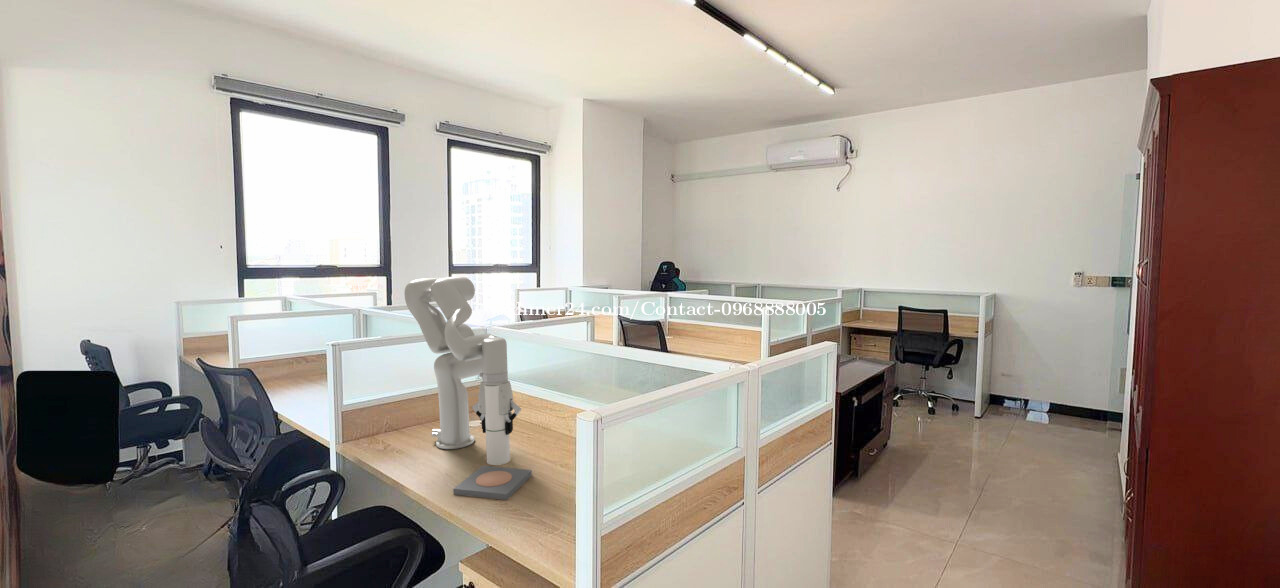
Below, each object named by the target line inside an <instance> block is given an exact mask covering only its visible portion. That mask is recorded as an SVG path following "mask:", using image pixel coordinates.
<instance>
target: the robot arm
mask: <svg viewBox="0 0 1280 588" xmlns="http://www.w3.org/2000/svg"><path fill="white" fill-rule="evenodd" d="M403 292H404V300H405V304H406V307H407V309H408V311H409V312H410V314H411V315H412V316H413V318H414V320H416V322H417V324H418V326H419V329H420V330H421V333H422V335H423V337H424V339H425V341H426V344H427V346H428V348H429V349H430V351H431V352H432V353H434V354H437V355H438V354H439V356H437V358H436V359H435V360H434V364H433V370H434V376H435V378H436V384H437V391H438V392H437V393H438V394H437V395H438V407H439V408H438V410H439V429H438V428H433V429H432V430H431V434H430V435H431V437H434V438H436V437H437V440H436V442H435V445H436V447H437V448H439V449H441V450H442V449H443V450H459V449H462V448H466V447H468V446H471V445H472V444H473V443H474V442H475V439H476V438H475V436H474V435H472V434H471V433H470V432H471V431H470V413H469V411H470V410H469V392H468V389H467V387H466V386H465V384H464V383H463V382H462V381H461V380H462V379H467V378H471V377H474V376H475V377H476V376H478V377H479V378H482V381H481V382H480V383H479V388H478V390H479V391H478V401H477V402H476V403H475V404H474V405H472V409H473V411H474V413H475V414H476V416H477V417H478V418H479V420H480V421H481V429H482V433H483V434H486V426H485V414H486V404H485V386H484V385H490V386H499V393H498V400H499V415H504V416H505V419H506V420H507V422H506V423H505V431H506V435H508V434H509V435H510V434H511V433H513V430H514V424H513V422H514V421H513V420H515V418H516V417H517V416H518V415H519V414H520V412H521V411H522V408H521V407H520V406H519V405H518V404H517V403H516V402H515V401H514V395H513V389H512V385H511V381H510V380H508V379H509V374H508V372H509V371H508V369H509V368H508V348H507V347H508V345H507V344H508V343H507V340H506V339H505V338H504V337H500V336H499V337H498V336H495V335H493V334H490V333H484V334H483V333H481V334H477V335H475V333H474V330H473V329H472V328H471V327H470V326H469V325H468V324H465V323H466V322H467V321H468V320H469V319H470V317H471V316H472V314H473V309H472V307H471V305H470V304H469V302H468V301H471V300H472V299H473V298H474V297H475V294H476V293H475V292H476V289H475V285H474V283H473V282H472V281H471V279H469V278H467V277H465V276H457V277H456V276H443V277H430V278H429V277H427V278H418V279H414V280H411V281H409V282H408V283H407V284H406V285H405V287H404V291H403ZM431 303H436V304H437V306H438V307H439V309H438V308H437V307H435V306H434V305H433V304H431ZM440 310H441V311H440ZM445 319H446V320H445ZM513 410H514V411H513ZM512 411H513V413H512Z"/></svg>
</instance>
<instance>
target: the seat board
mask: <svg viewBox="0 0 1280 588" xmlns="http://www.w3.org/2000/svg"><path fill="white" fill-rule="evenodd" d="M532 471H533V470H532V469H526V468H514V467H513V468H512V467H502V466H495V465H492V466H491V465H481V466H480V467H479V468H477V470H475V471H474V472H473V473H471V474H470V475H469V476H468V477H466V478H465V479H464V480H463V481H461V482H460V483H458V485H456V486H454V487H453V489H452V490H453V495H456V496H467V497H473V498H474V497H475V498H484V499H495V500H503V501H508V500H509V498H510V497H512V495H514V494H515V492H516V491H518V490H519V489H520V488H519V487H522V486H523V485H524V484H525V483H526V482H527V481H528V480H529V479H530V478H531V477H532V476H533V472H532Z"/></svg>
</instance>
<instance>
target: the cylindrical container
mask: <svg viewBox="0 0 1280 588" xmlns="http://www.w3.org/2000/svg"><path fill="white" fill-rule="evenodd" d="M484 386H485V404H486V414H485V426H486V433H485V446H486V447H485V448H486V463H487V464H488V465H489V466H491V465H492V466H500V465H505V464H507V463H509V462H510V460H511V450H510V447H511V446H510V445H511V444H510V434H508V435H506V431H505V423H506V422H507V420H506V419H505V416H504V415H499V400H498V393H499V386H490V385H484Z"/></svg>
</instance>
